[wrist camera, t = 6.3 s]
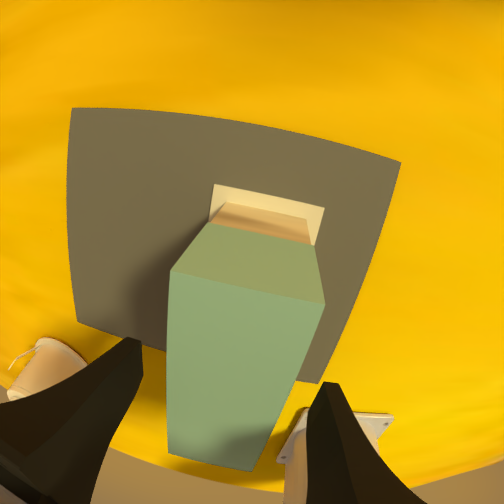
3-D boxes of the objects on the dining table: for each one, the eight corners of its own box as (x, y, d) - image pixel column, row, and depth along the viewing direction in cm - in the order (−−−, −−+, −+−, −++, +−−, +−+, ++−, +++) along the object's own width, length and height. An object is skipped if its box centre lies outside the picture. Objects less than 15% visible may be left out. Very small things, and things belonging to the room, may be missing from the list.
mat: (317, 379, 20) (318, 384, 19) (80, 318, 20) (76, 322, 20) (398, 161, 14) (401, 162, 13) (76, 107, 14) (70, 107, 14)
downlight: (26, 347, 23) (-24, 414, 14) (46, 319, 21) (-19, 401, 12) (83, 399, 25) (45, 472, 16) (114, 382, 23) (70, 472, 14)
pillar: (287, 288, 17) (286, 334, 13) (215, 272, 17) (195, 313, 13) (306, 218, 15) (312, 250, 11) (226, 201, 15) (206, 227, 11)
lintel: (259, 411, 15) (251, 471, 12) (188, 395, 15) (168, 452, 12) (313, 245, 11) (325, 304, 7) (207, 222, 11) (170, 270, 8)
